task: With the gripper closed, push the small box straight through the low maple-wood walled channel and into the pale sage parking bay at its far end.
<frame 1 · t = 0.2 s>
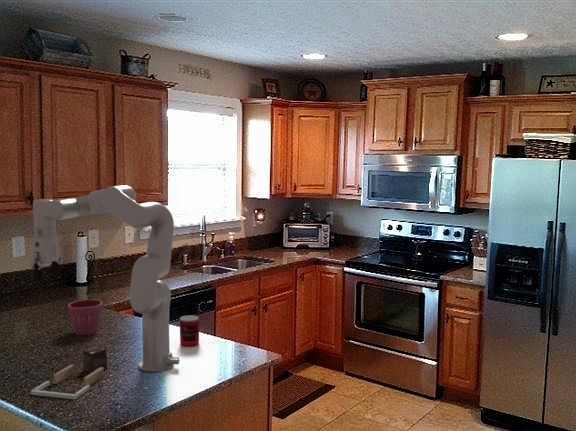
hand: (47, 277, 215), 31 cm above the worktop, tool pointing down, fingers open, 9 cm apart
box: (95, 369, 205), on the worktop
parking bay: (61, 391, 186), on the worktop
plant pot: (86, 332, 248), on the worktop
channel: (79, 379, 195), on the worktop
canned food: (189, 344, 233), on the worktop
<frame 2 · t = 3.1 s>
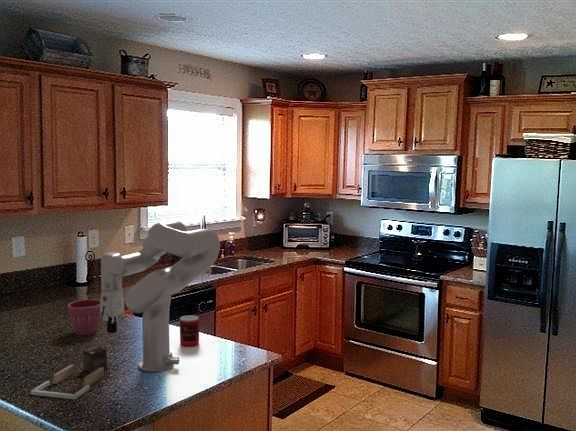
hand: (111, 332, 217), 10 cm above the worktop, tool pointing down, fingers closed
nothing on the worktop moved.
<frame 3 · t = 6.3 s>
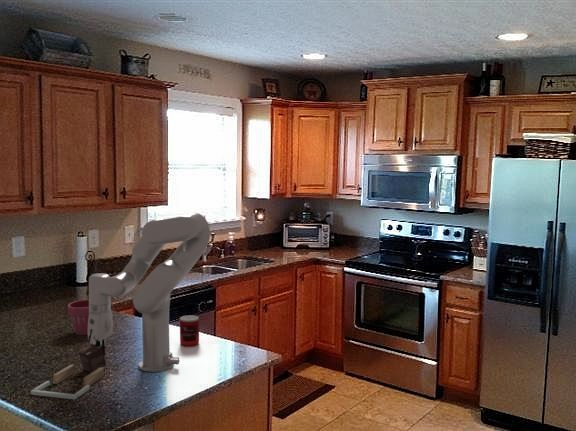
hand: (99, 355, 210), 3 cm above the worktop, tool pointing down, fingers closed
box: (95, 368, 205), on the worktop, touching gripper
everything else where it was.
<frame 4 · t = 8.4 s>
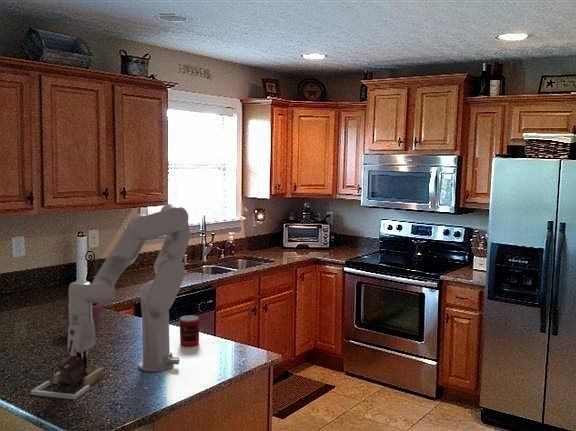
hand: (81, 368, 198), 3 cm above the worktop, tool pointing down, fingers closed
box: (76, 379, 194), point 1 cm above the worktop, touching gripper
everything else where it was.
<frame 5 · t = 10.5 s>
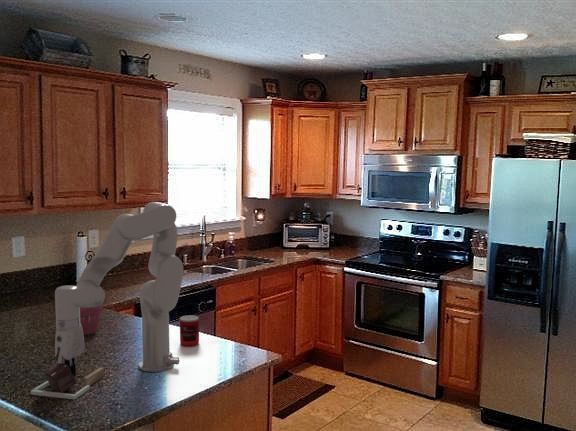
hand: (70, 376, 192), 3 cm above the worktop, tool pointing down, fingers closed
box: (64, 387, 187), point 1 cm above the worktop, touching gripper
everything else where it was.
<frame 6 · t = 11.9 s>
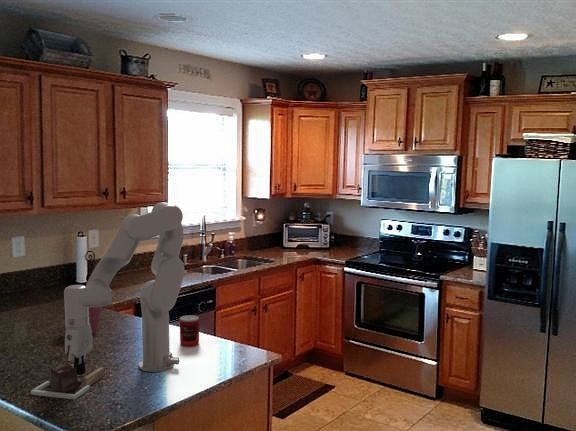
hand: (79, 373, 195), 2 cm above the worktop, tool pointing down, fingers closed
box: (64, 390, 188), on the worktop
everything else where it was.
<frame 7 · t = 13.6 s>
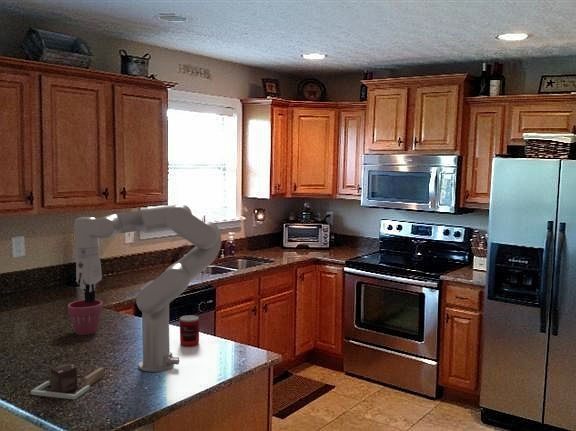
hand: (90, 302, 205), 24 cm above the worktop, tool pointing down, fingers closed
nothing on the worktop moved.
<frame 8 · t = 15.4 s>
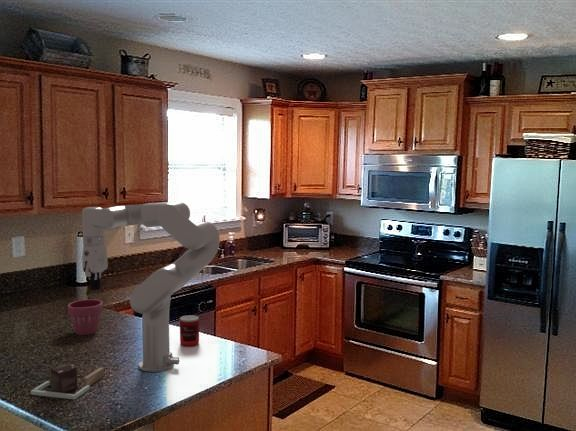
hand: (95, 289, 211), 27 cm above the worktop, tool pointing down, fingers closed
nothing on the worktop moved.
at the end: box inside the target area (1.1 cm from its centre), on the worktop; box tilted 0° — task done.
